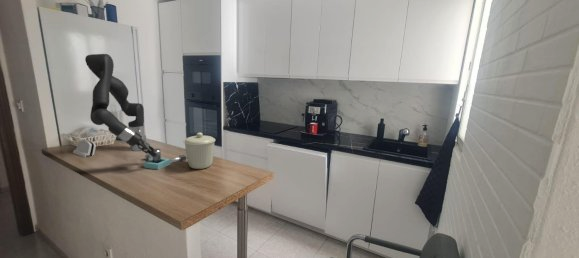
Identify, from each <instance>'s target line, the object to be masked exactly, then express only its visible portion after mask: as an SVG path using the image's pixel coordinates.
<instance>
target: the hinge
mask: <svg viewBox="0 0 579 258" xmlns="http://www.w3.org/2000/svg"><path fill="white" fill-rule="evenodd" d="M96 147H97V144H95V142H94V141H91V140H87V139H85V140H79V141H78V142H77V145H76V148H75V149H74V150H73V151H72V154H74V155H77V156H80V157H82V158H87V156H92V157H94V156H95V151H96ZM93 155H94V156H93Z"/></svg>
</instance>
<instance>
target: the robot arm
mask: <svg viewBox="0 0 579 258" xmlns="http://www.w3.org/2000/svg"><path fill="white" fill-rule="evenodd" d="M84 59H85V64H86V66H87V67H88V69H89V70H90V71H91V73H93V75H94V76H96V78H98V79H99V80H98V81H97V83H96V84H95V85H94V86H93V89H92V105H91V111H90V116H89V117H90V121H91V122H92V123H93V124H94V125H97V126H102V125H105V126H106V127H107V128H108V131H109V132H110V133H112V134H113V135H115V136H116V137H117V138H119V139H120V140H121V141H123V142H124V143H126V144H127V145H129V146H130V151H132V152H138V151H142V152H144V153H145V155H147V154H150V155H151V156H153V157H154V156H155V155H156V153H155V152H153V151H152V150H153V149H155V148H154V147H152V146H151V144H150V143H149V142H147V136H146V133H145V124H144V123H145V111H144V110H145V109H144V105H143V104H142V103H139V102H137V103H136V102H129V100H127V98H128V96H129V89H128V87H127V85H125V83H124V82H123V80H121V79H119V78H117V77H116V76H114V75H113V73H114V68H115V67H114V65H115V64H114V59H113V58H112V57H111V55H110V54H107V53H96V54H95V53H94V54H88V55H86V56H85V58H84ZM110 94H111V96H112V97H113V98H114V99H115V101H116V102H117V103H118V105H119V106H120V108H121V110H122V111H123V113H124V114H125V116H127V117H135V120H131V121H128V123H127V125H128V126H127V125H126V124H124V123H123V122H121V121H120V120H119V118H117V116H116V115H114V114H113V112H111V111H110V110H108V107H109V105H110Z"/></svg>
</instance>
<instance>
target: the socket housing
mask: <svg viewBox="0 0 579 258" xmlns="http://www.w3.org/2000/svg"><path fill="white" fill-rule="evenodd" d="M170 159H171V158H164V157H161V162H160V163H153V159H151V160H146V161H144V162H143V168H146V169H152V170H158V171H159V170H160V169H162V168H165V167H167V166H169V165H171V164H172V163H170Z"/></svg>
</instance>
